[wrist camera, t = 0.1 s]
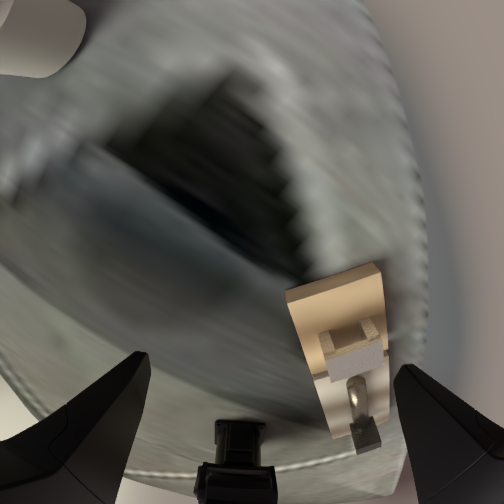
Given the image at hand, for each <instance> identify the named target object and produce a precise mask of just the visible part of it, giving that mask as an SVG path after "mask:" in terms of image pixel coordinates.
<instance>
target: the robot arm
mask: <svg viewBox="0 0 504 504" xmlns="http://www.w3.org/2000/svg"><path fill="white" fill-rule="evenodd" d="M150 377H151V367H150V361H149V356H148V354H147V353H146V352H141V351H135V352H134V353H132V354H131V355H130V356H128V357H127V358H126V359H124V360H123V361H122V362H120V363H119V364H118V365H116V366H115V367H114V368H113V369H111V370H110V371H109V372H107V373H106V374H105V375H103V376H102V377H101V378H99V379H98V380H97V381H95V382H94V383H93V384H91V385H90V386H89V387H87V388H86V389H85V390H83V391H82V392H81V393H79V394H78V395H77V396H75V397H74V398H73V399H71V400H70V401H69V402H67V403H66V404H65V405H63V406H62V407H60V408H59V409H58V410H56V411H55V412H53V413H52V414H51V415H49V416H48V417H46V418H45V419H43V420H41V421H40V422H38V423H37V424H35V425H33V426H31V427H29V428H27V429H26V430H24V431H22V432H20V433H19V434H17V435H15V436H13V437H11V438H9V439H6V440H4V441H0V504H115V501H116V497H117V493H118V490H119V487H120V483H121V480H122V477H123V473H124V470H125V467H126V463H127V460H128V457H129V454H130V451H131V447H132V444H133V441H134V438H135V435H136V432H137V429H138V426H139V423H140V420H141V417H142V414H143V410H144V405H145V400H146V395H147V390H148V386H149V381H150ZM393 385H394V391H395V396H396V402H397V408H398V413H399V418H400V423H401V426H402V430H403V434H404V438H405V442H406V446H407V450H408V454H409V458H410V462H411V467H412V471H413V476H414V481H415V486H416V491H417V496H418V502H419V504H504V428H502V427H500V426H499V425H497V424H496V423H494V422H492V421H491V420H489V419H488V418H486V417H485V416H483V415H482V414H481V413H479V412H478V411H477V410H475V409H474V408H473V407H471V406H470V405H469V404H467V403H466V402H464V401H463V400H462V399H460V398H459V397H458V396H456V395H454V394H453V393H452V392H451V391H449V390H448V389H447V388H445V387H444V386H442V385H441V384H440V383H438V382H437V381H436V380H434V379H433V378H432V377H430V376H429V375H427V374H426V373H424V372H423V371H422V370H421V369H419V368H418V367H416V366H415V365H414V364H404V365H402V366H401V368H400V370H399V371H398V373H397V375H396V377H395V379H394V383H393ZM265 429H266V425H265V424H263V423H243V422H229V421H215V444H216V445H217V448H216V458H215V464H214V463H208V462H203V465H202V466H198V473H197V479H196V483H195V487H194V491H193V493H194V494H195V495H196V497H197V500H198V503H199V504H277V501H278V489H277V482H276V476H275V469H274V466H269V467H263V466H261V444H262V440H263V437H264V433H265Z"/></svg>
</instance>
